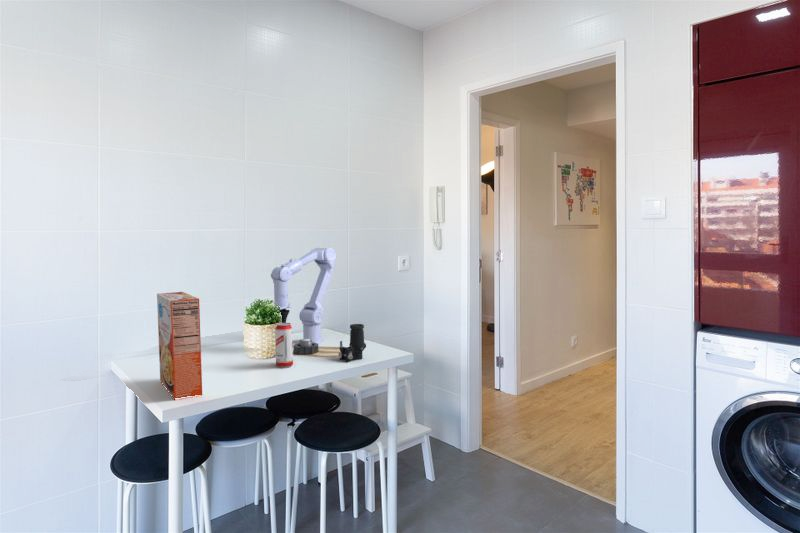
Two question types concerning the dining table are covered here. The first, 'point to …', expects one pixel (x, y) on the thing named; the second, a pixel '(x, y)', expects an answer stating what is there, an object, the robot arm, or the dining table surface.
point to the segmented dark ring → (305, 349)
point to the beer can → (284, 345)
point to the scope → (353, 344)
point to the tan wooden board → (324, 352)
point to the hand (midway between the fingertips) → (281, 327)
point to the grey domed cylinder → (305, 342)
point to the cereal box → (179, 343)
